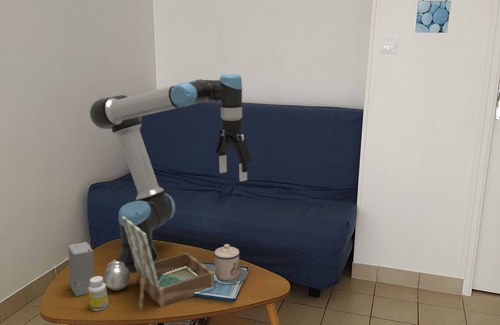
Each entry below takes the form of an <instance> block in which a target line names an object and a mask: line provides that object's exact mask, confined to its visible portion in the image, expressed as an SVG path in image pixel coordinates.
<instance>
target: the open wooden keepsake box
mask: <svg viewBox="0 0 500 325" xmlns="http://www.w3.org/2000/svg"><path fill="white" fill-rule="evenodd" d="M122 220H123V224H124V227H125V231H126V234H127V238H128V242H129V245H130V249H131V253H132V256H133V260H134V264H135V267H136V271H137V272H136V282H137V283H138V285H139V286H140V287H139V299H138V300H139V302H138V311H139V312H143V310H144V307H143V306H144V295H145V292H146V293H147V294H148V295H149V296H150V298H152V299H153V300H154V301H155V303H156V304H157V305H158V306H159V307H160V308H163V307H165V306H168V305H171V304H174V303H176V302H177V303H178V302H179V301H182V300H186V299H189V298H191V297H195V295H193V294H194V293H195V292H198V291H201V290H204V289H206V288H210V287H213V286H215V280H214V272H215V271H213V270H211V269H210V268H209V267H207V266H206V265H204V264H203V263H202V262H201V261H200V260H198V259H197V258H195V257H194V256H193V255H192V254H190V253H189V252H187V251H186V252H183V253H179V254H176V255H173V256H169V257H166V258H162V259H158V261H154V262H153V259H152V255H151V251H150V247H149V243H148V240H147V236H146V233H144V232H143V231H142V230H141V229H139V228H138V227H137V226H136V225H134V224H133V223H132V222H131V221H129V220H128V219H127V218H126V217H124V216H123V217H122ZM184 266H187V267H188V268H190V269H191V270H192V271H193V272H195V273H196V274H197V275H198V276H193V277H190V278H188V279H185V280H181V281H178V282H174V283H172V284H169V285H168V284H167V285H166V286H165V285H164V286H161V285H160V282H159V278H160V277H159V276H160V275H161V274H163V273H166V272H169V271H172V270H175V269H178V268H181V267H184Z"/></svg>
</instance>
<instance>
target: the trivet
mask: <svg viewBox="0 0 500 325" xmlns="http://www.w3.org/2000/svg"><path fill="white" fill-rule="evenodd" d="M247 277H248V272H247V271H246V269H244V268H242V267H240V266H239V276H238V277H237V278H235V279H233V280H221V279H218V278H217V279H218V280H219V281H221V282H225V283H236V282H239V281H242V282H241V283H244V282H245V281H246V280H247Z"/></svg>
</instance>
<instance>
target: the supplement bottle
mask: <svg viewBox="0 0 500 325" xmlns="http://www.w3.org/2000/svg"><path fill="white" fill-rule="evenodd" d="M88 289H89V293H88V295H89V296H88V297H89V305H90V309H91V310H93V311H102V310H104V309H106V308H107V307H108V306H109V301H108V300H109V299H108V291H107V286H106V284H105V282H104V276H100V275H97V276H95V275H94V277H92V278H91V279H90V286H89V288H88Z"/></svg>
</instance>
